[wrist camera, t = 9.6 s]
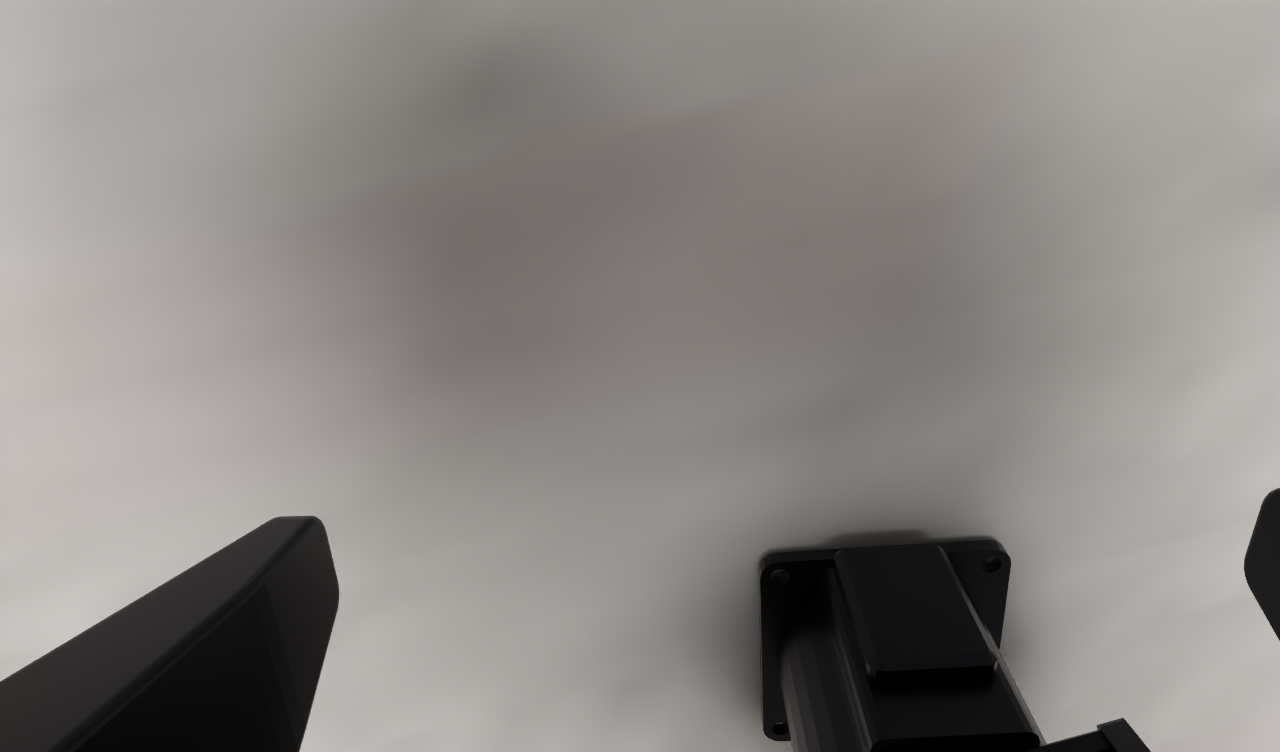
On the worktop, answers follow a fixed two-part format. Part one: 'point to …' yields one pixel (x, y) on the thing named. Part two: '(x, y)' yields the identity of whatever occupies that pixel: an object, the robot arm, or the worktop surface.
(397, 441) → the worktop surface
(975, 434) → the worktop surface
